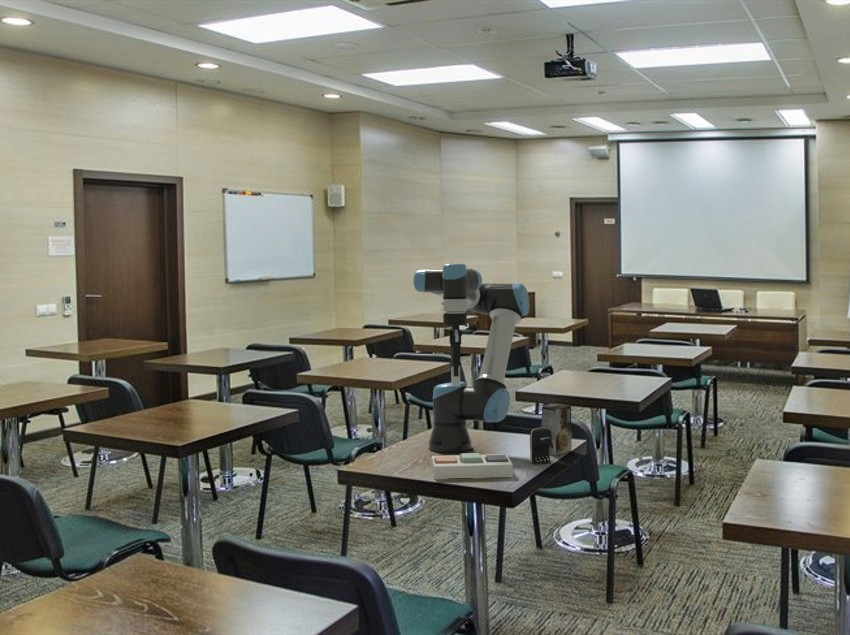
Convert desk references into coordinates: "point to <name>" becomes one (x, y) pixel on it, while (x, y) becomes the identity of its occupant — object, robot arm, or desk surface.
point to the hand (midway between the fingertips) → (455, 386)
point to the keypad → (472, 468)
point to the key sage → (471, 458)
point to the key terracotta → (445, 459)
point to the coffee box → (558, 427)
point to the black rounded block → (540, 445)
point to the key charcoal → (496, 458)
